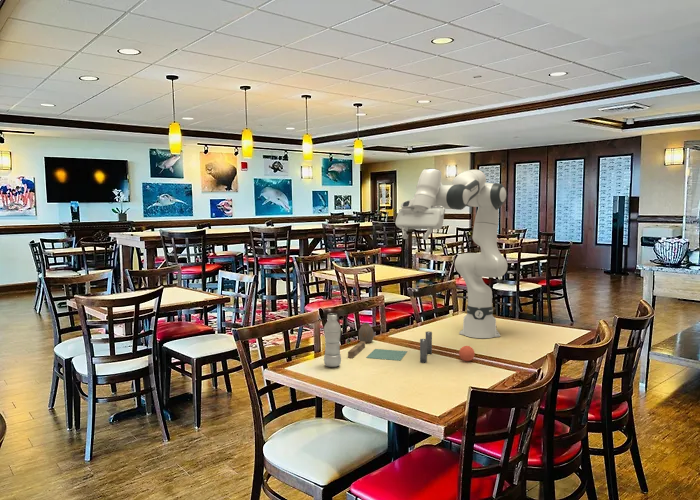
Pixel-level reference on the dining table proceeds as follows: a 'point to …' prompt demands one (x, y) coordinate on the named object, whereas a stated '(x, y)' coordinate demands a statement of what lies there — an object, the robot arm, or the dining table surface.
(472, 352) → the ball
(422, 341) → the post
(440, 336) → the dining table surface
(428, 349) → the post
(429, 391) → the dining table surface
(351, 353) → the wall
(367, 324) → the vase
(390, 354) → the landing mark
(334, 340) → the plastic bottle
